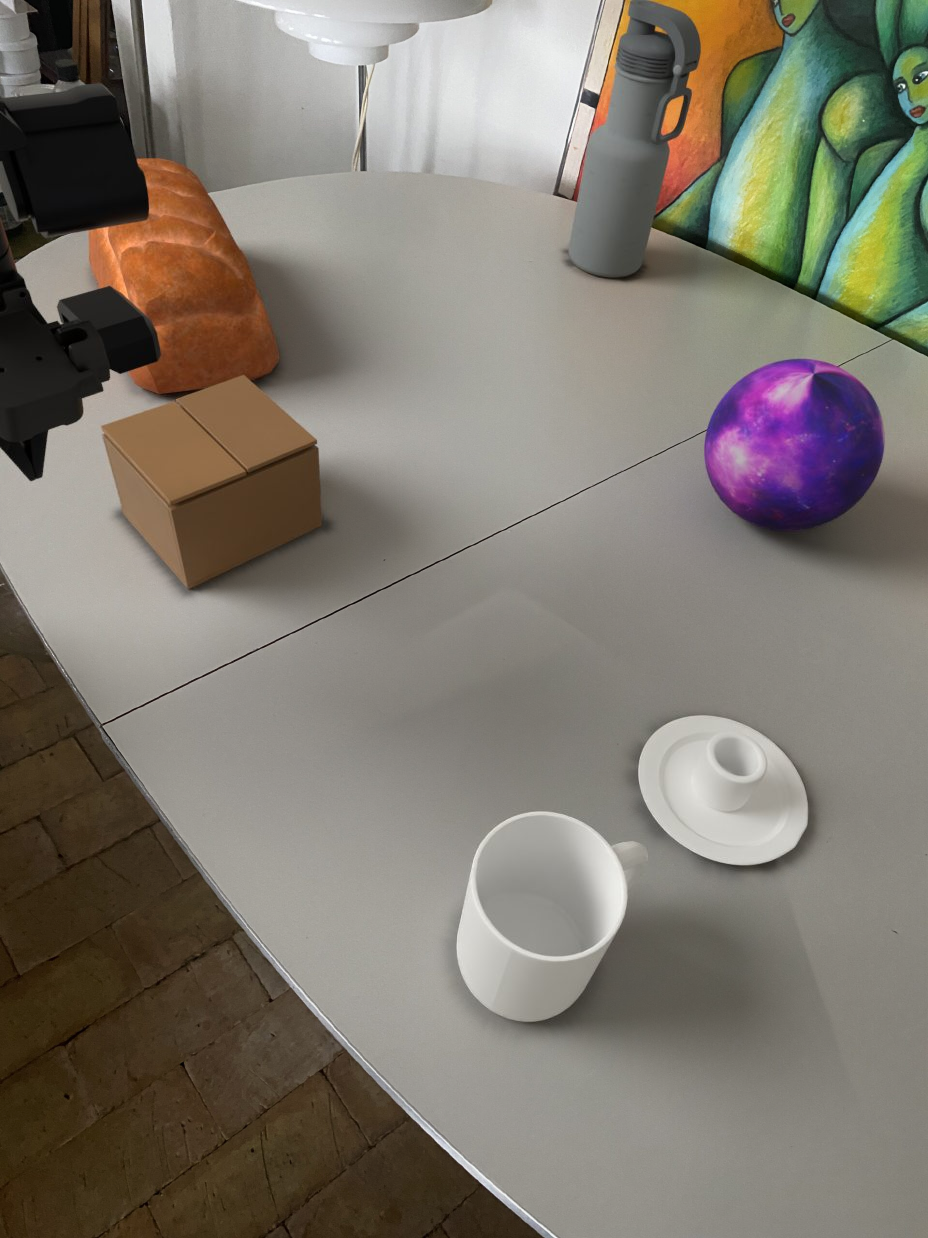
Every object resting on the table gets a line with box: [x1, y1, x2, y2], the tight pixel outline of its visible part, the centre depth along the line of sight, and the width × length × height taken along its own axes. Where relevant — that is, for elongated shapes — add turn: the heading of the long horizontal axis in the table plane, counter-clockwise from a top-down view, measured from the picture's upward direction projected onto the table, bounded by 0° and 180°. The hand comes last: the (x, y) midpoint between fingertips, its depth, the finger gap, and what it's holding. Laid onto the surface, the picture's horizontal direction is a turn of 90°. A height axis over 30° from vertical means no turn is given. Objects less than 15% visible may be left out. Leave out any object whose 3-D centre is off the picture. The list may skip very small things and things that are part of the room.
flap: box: [100, 400, 246, 505], centre depth 67 cm, size 6×11×1 cm, turn 41°
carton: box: [101, 375, 323, 590], centre depth 72 cm, size 13×11×9 cm
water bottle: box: [568, 0, 702, 279], centre depth 103 cm, size 10×10×28 cm
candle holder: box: [637, 714, 809, 866], centre depth 60 cm, size 12×12×4 cm
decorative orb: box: [703, 358, 886, 532], centre depth 78 cm, size 15×15×15 cm
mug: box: [456, 810, 649, 1023], centre depth 50 cm, size 12×8×10 cm
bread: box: [88, 157, 280, 395], centre depth 92 cm, size 16×31×13 cm, turn 24°
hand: (33, 476), depth 58 cm, fingers closed
